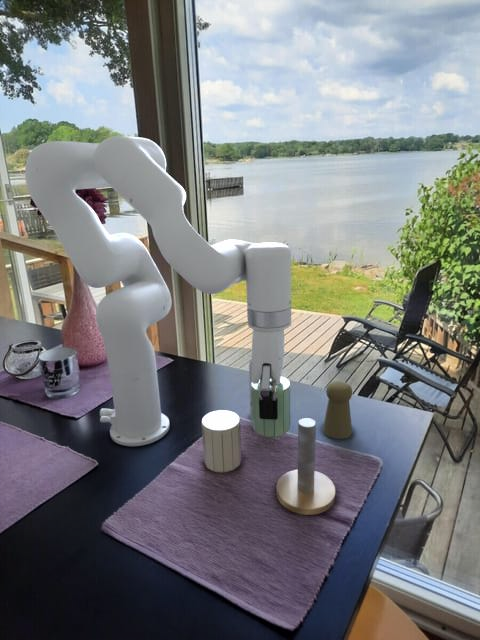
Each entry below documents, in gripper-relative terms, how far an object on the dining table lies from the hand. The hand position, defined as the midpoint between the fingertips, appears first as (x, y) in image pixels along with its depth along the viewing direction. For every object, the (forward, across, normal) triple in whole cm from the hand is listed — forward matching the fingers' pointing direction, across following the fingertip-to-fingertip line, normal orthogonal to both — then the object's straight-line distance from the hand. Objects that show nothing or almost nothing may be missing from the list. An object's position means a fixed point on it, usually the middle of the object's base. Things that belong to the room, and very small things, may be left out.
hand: (270, 406), depth 81 cm
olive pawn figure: (+12, -11, +13) cm, 20 cm away
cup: (+11, +2, -9) cm, 15 cm away
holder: (+11, +9, +7) cm, 16 cm away
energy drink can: (+11, -14, -3) cm, 18 cm away
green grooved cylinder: (+4, 0, 0) cm, 4 cm away
